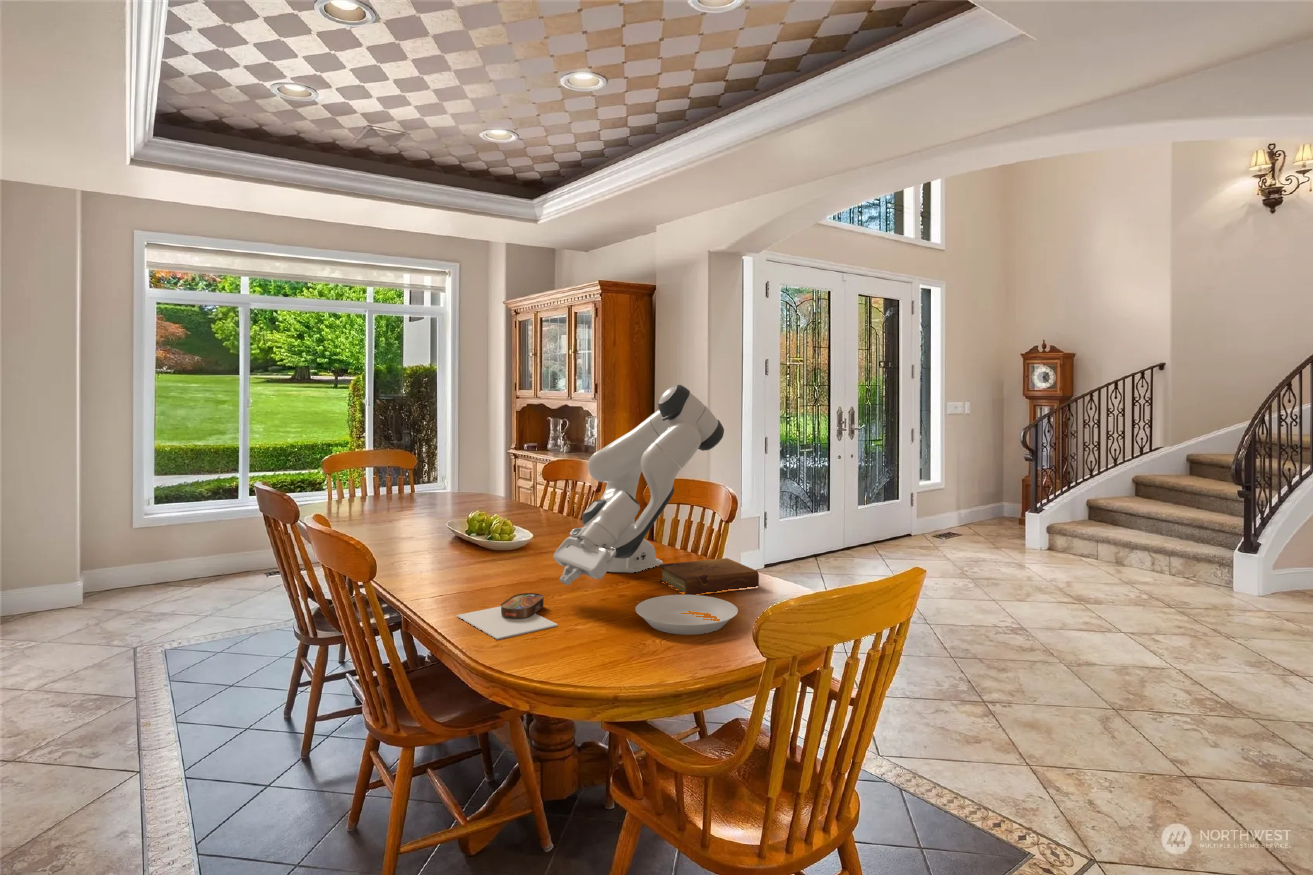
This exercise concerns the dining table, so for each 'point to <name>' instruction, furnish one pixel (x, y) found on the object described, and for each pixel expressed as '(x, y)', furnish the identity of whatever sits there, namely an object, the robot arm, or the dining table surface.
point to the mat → (505, 623)
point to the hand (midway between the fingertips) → (563, 582)
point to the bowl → (669, 619)
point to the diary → (708, 576)
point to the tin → (522, 605)
